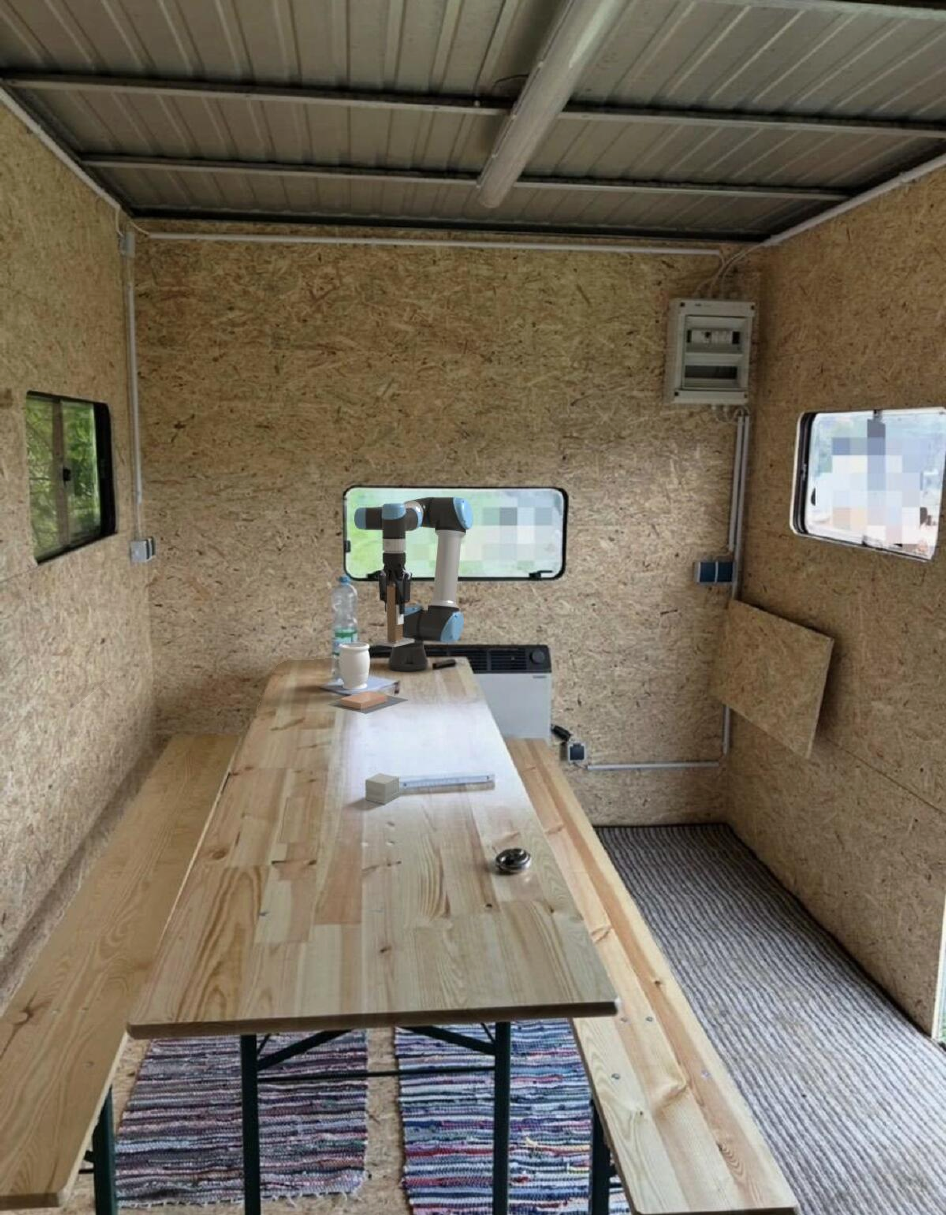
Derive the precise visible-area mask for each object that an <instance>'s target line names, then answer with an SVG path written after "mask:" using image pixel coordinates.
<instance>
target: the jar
mask: <svg viewBox="0 0 946 1215" xmlns="http://www.w3.org/2000/svg"><path fill="white" fill-rule="evenodd" d="M338 648H339V650H340V652H339V655H338V666H339V667H338V668H339V672H340V677H341V680H342V682H343V685H342V688H343V689H345V690H354V691H356V690H365V689H366V688H367V687H368V684H367V681H368V678H369V671H370V665H371V661H370V652H369V649H370V644H369V643H367V642H361V641H360V642H357V641H355V642H354V641H353V642H343V643H340V644H339V645H338Z"/></svg>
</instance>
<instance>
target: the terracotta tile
mask: <svg viewBox="0 0 946 1215" xmlns="http://www.w3.org/2000/svg"><path fill="white" fill-rule="evenodd" d="M378 693H379V692H378ZM378 693H377V692H374V691H368V690H365V691H362V692H359V693H355V694H351V695H348V696H345V697H344V696H343V697H340V698H339V701H340V705H343V706H347V707H352V708H356V709H360V710H361V709H365V708H368V707H371V706H374V705H377V704H380V703H384V702H387V695H388V694H384V693H383V694H384V695H383V694H382V693H379V694H378Z"/></svg>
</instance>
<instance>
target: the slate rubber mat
mask: <svg viewBox="0 0 946 1215" xmlns="http://www.w3.org/2000/svg"><path fill="white" fill-rule="evenodd" d="M378 694H380V693H379V692H378ZM383 695H385V694H384V693H383ZM386 695H387V702H384V703H380V704H377V705H374V706H371V707H368V708H365V709H361V710H360V709H356V708H352V707H347V706H343V705H340V700H337V701H335V702H332V703H331V702H330V703H327V704H326V706H331V707H334V708H335V707H336V708H339V709H344V710H349V711H352V712H353V711H354V712H357V713H361V714H366V715H367V714H369V713H374V712H376V711H378V710H379V711H380V710H382V709H385V708H389V707H392V706H395V705H398V704H401V703H404V702H407V701H409V699H408V698H407V699H406V698H404V697H403V698H402V697H397V696H393V695H389V694H386Z"/></svg>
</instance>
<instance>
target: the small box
mask: <svg viewBox="0 0 946 1215" xmlns="http://www.w3.org/2000/svg"><path fill="white" fill-rule="evenodd" d="M364 783H365V800H366V801H369V802H375V803H376V804H377V803H378V804H382V805H387V804H389V803H390V802H393V801H394V800H396V799H399V797H400V777H399V776H394V775H389V774H384V773H382V772H381V773H377V774H374V775H373V776H371V777H369V778H367V779H365V782H364Z"/></svg>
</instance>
